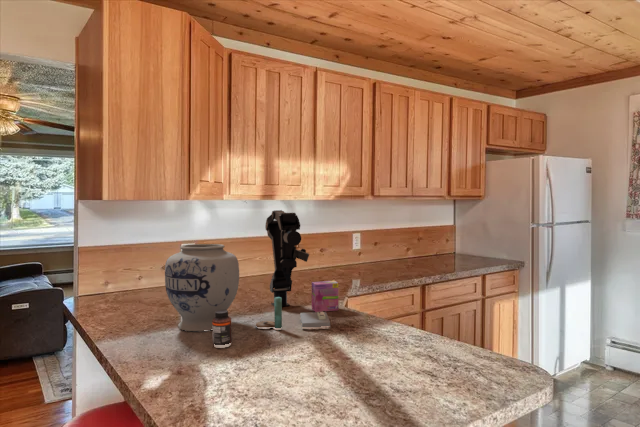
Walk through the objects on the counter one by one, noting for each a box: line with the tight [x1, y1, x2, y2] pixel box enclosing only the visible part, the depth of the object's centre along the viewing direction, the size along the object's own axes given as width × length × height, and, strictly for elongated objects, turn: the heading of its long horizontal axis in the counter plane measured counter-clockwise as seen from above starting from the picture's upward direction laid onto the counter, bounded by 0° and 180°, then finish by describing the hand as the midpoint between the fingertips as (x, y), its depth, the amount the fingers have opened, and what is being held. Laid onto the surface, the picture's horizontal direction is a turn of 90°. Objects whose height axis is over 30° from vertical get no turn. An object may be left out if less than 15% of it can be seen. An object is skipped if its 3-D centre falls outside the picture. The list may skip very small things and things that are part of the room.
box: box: [311, 280, 340, 312], centre depth 182 cm, size 10×6×12 cm, turn 105°
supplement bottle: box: [212, 309, 233, 345], centre depth 138 cm, size 6×6×11 cm
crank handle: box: [255, 297, 283, 328], centre depth 157 cm, size 7×11×12 cm, turn 41°
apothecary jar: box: [164, 243, 240, 332], centre depth 161 cm, size 27×27×30 cm
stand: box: [299, 311, 331, 328], centre depth 161 cm, size 14×10×5 cm
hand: (288, 282), depth 175 cm, fingers closed
